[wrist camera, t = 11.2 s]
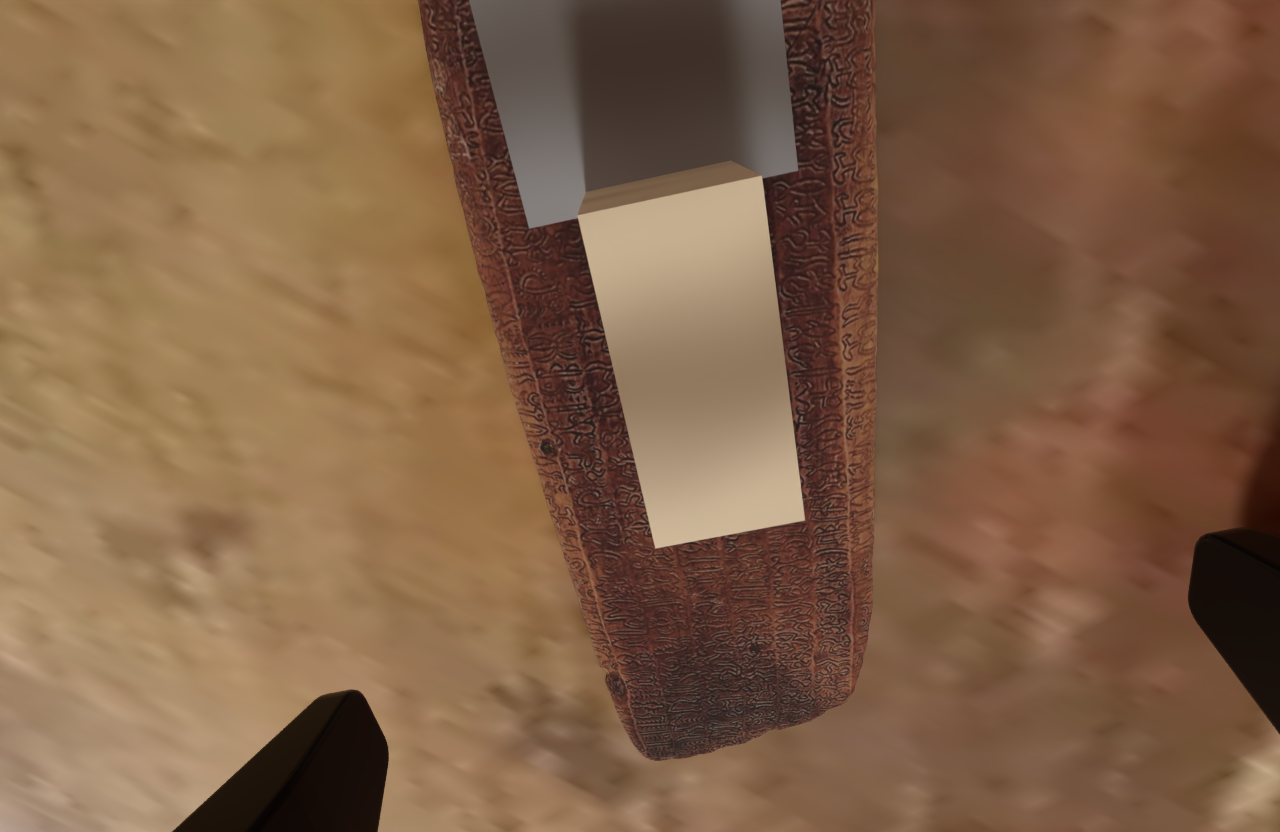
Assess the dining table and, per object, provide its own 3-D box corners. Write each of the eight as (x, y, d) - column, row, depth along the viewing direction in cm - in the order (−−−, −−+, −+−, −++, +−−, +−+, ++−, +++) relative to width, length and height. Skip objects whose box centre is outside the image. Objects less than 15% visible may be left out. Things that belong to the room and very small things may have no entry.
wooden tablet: (889, 753, 24) (603, 820, 23) (861, 704, 26) (597, 764, 25) (888, -237, 13) (359, -170, 13) (841, -189, 15) (382, -129, 15)
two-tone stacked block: (815, 418, 19) (871, 508, 15) (596, 461, 19) (590, 560, 15) (762, -63, 14) (821, -130, 10) (477, 4, 15) (423, -36, 10)
